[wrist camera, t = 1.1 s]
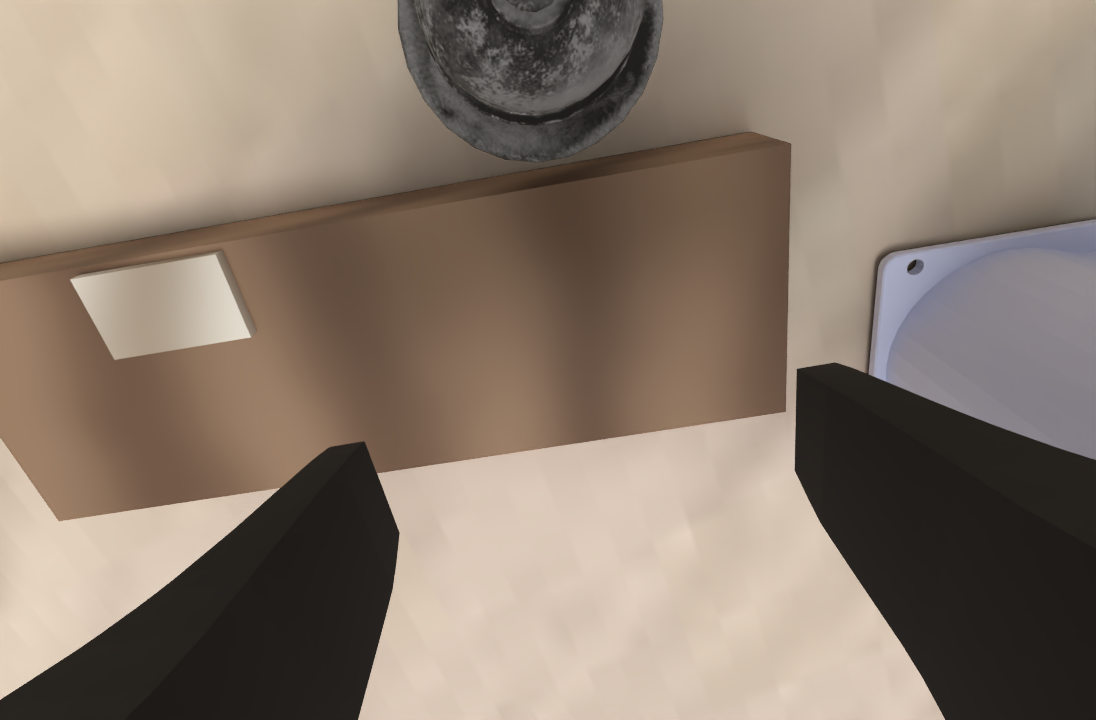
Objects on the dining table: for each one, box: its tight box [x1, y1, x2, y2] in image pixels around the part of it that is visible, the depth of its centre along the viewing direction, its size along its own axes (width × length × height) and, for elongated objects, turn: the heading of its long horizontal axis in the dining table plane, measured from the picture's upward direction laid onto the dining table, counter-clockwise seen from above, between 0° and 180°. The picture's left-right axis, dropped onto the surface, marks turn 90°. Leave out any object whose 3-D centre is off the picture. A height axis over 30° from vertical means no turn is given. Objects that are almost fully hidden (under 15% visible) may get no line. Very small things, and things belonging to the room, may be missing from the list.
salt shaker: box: [398, 0, 663, 163], centre depth 11 cm, size 6×6×12 cm
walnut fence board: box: [0, 132, 791, 521], centre depth 18 cm, size 24×8×3 cm, turn 99°
